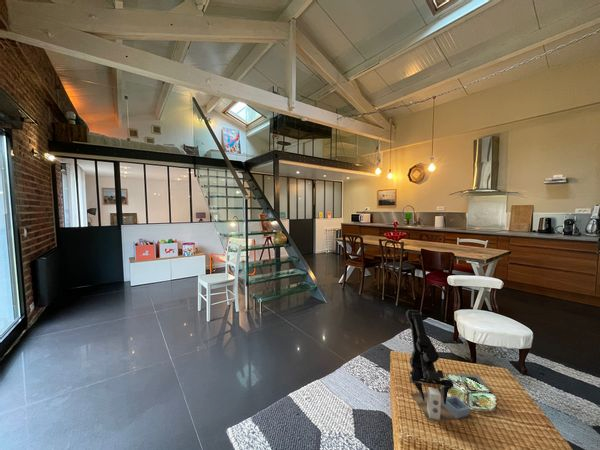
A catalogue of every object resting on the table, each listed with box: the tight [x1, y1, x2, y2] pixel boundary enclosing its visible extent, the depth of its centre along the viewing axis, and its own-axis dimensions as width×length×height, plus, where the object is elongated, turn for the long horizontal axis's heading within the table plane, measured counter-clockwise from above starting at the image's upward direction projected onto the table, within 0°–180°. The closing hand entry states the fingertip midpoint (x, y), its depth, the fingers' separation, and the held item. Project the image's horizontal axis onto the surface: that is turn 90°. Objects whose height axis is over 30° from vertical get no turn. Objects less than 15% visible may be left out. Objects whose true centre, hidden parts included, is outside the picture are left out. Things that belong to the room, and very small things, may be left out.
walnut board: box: [409, 390, 474, 423], centre depth 120 cm, size 17×22×1 cm
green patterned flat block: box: [458, 372, 490, 390], centre depth 135 cm, size 13×10×2 cm
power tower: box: [427, 386, 441, 420], centre depth 114 cm, size 5×4×12 cm
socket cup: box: [443, 394, 471, 419], centre depth 117 cm, size 8×8×4 cm
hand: (434, 402), depth 113 cm, fingers open, 9 cm apart
